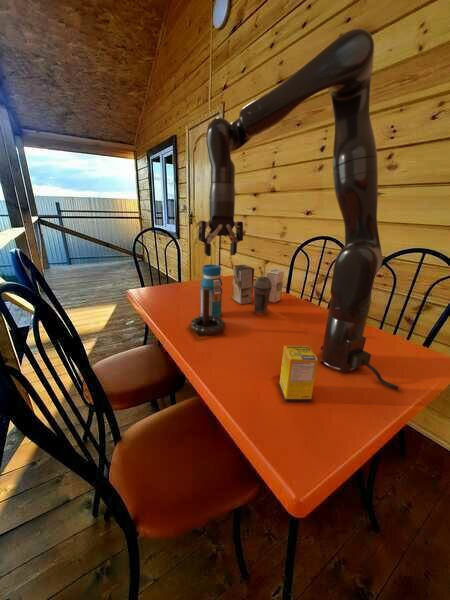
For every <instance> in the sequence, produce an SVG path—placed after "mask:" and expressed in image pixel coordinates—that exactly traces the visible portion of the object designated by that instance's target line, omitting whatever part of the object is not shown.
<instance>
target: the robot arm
mask: <svg viewBox="0 0 450 600" xmlns="http://www.w3.org/2000/svg"><path fill="white" fill-rule="evenodd" d="M374 56H375V41H374V38H373V36H372V34H371V33H370V31H368V30H367V29H364V28H354V29H350V30H348V31H346V32H345V33H342V34H341V35H340V36H338V37H337V38H336V39H335V40H333V41H332V42H331V43H330V44H328V45H327V46H326V47H325V48H324V49H323V50H321V51H320V52H318V54H317V55H315V56H314V57H313V58H311V59H310V60H309V61H308V62H307V63H305V64H304V65H303V66H301V68H299V69H298V70H297V71H296V72H294V73H293V74H292V75H290V76H289V77H288V78H286V79H285V80H284V81H283V82H281V83H280V84H278V85H277V86H276V87H274V88H272V89H271V90H270V91H268V92H266V93H265V94H263V95H262V96H260V97H257V99H255V100H253V101H251V102H250V103H248V104H246V105H245V106H244V107H242V108H241V109H240V111H239V115H238V118H237V119H235V120H234V121H233V122H229V121H228V120H227V119H225V118H224V117H214V118H213V119H212V120H211V121H210V123H209V124H208V126H207V129H206V134H205V135H206V137H205V138H206V139H205V140H206V149H207V154H208V155H207V156H208V159H209V165H210V185H209V196H208V200H209V211H208V213H209V214H208V215H209V220H208V221H206V220H199V221H198V236H197V237H198V238H197V239H198V241H199V242H201V243H203V244H204V254H205V255H206V257H211V256H212V244H211V243H212V241H213V240H214V239H215V238H216V236H217V237H221V236H224V237H227V238H228V239H229V240H230V246H229V247H230V253H229V254H230V255H231V256H235V255H236V254H237V252H238V243H239V242H243V241H244V222H243V221H241V220H237V221H235V210H236V209H235V208H236V207H235V206H236V189H235V187H236V185H235V184H236V165H235V163H234V162H233V160H232V157H231V154H232V153H233V152H236V151H238V150H240V149H241V148H242V147H243V146H245V145H246V144H247V143H249V142H250V141H251V140H252V139H253V138H254V137H256V136H258V135H261V134H262V133H264V132H266V131H267V130H271V129H272V128H274V127H275V126H277V125H279V123H281V122H282V121H284V120H285V119H286V118H288V116H289V115H291V113H292V112H293V111H294V110H296V109H297V108H298V107H299V106H300V105H301V104H302V103H304V102H305V101H306V100H308V99H310V98H311V97H313V96H315V95H316V94H318V93H320V92H323V91H325V90H328V92H329V96H330V102H331V107H332V112H333V120H334V121H333V122H334V137H333V147H332V178H333V189H334V195H335V198H336V202H337V205H338V208H339V212H340V214H341V217H342V221H343V224H344V247H343V248H342V249H341V250H340V251H339V252H338V253H337V255H336V257H335V261H334V265H333V270H332V277H331V282H330V283H331V284H330V296H331V298H330V303H329V307H328V308H329V309H328V313H327V314H328V315H327V320H326V324H325V331H324V336H323V341H322V345H321V347H320V350H321V352H320V358H321V363H322V364H323V365H324V366H325V367H327V368H329V369H331V370H333V371H336V372H339V373H342V374H347V373H350V372H353V371H356V370H359V369H360V368H361V367H364V366H365V367H367V368H368V369H369V370H370V371H372V372H373V373H374V375H375V376H376V378H377V380H378V381H379V382H380V383H381V384H382V385H384V386H385V387H388V388H390V389H393V390H396V391H398V390H399V388H400V387H399V386H398V385H396V384H392V383H389V382H387V381H386V380H385V379H383V378H382V376H381V373H379V371H378V370H377V369H376V368H375V367H374V366H372V364H370V361H371V357H372V354H371V353H369V352H367V351H366V350H365V346H366V342H367V337H366V336H364V333H365V329H366V326H367V325H366V324H367V321H368V317H369V312H370V310H371V309H370V308H371V304H372V291H373V287H374V282H375V278H376V275H377V273H378V271H379V270H380V269H381V267H382V265H383V259H384V258H383V257H384V256H383V251H382V245H381V240H380V233H379V227H378V200H379V165H378V150H377V143H376V139H375V133H374V129H373V126H372V122H371V115H370V103H371V102H370V99H371V83H372V74H373V67H374V66H373V65H374ZM208 227H209V231H208V233H207V234H206V232H207V231H206V230H207V229H208ZM234 228H235V232H234V230H233V229H234Z"/></svg>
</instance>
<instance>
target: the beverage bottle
mask: <svg viewBox="0 0 450 600" xmlns="http://www.w3.org/2000/svg"><path fill="white" fill-rule="evenodd" d="M221 270H222V268H221V266H220V265H218V264H204V265H203V266H202V276H203V277H202V278H201V280H200V289H199V293H200V313H199V314H200V316H203V288H209V316H215V317H218V318H219V317H221V315H222V299H223V288H222V286H223V281H222V280H221V278H220V276H221V273H222V271H221Z"/></svg>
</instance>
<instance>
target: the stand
mask: <svg viewBox="0 0 450 600" xmlns="http://www.w3.org/2000/svg"><path fill="white" fill-rule="evenodd" d="M198 325H199V326H202V327H214V326H217V324H215V323H209V288H203V323H200V324H198ZM188 327H190V324H188ZM193 333H194V334H195V335H196V336H197V337H198V338H201V337H206V336H207V335H205V334H199V333H196V332H194V331H193ZM221 333H224V330H223V331H221V332H220V333H219V334H221Z"/></svg>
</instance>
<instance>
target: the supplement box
mask: <svg viewBox="0 0 450 600" xmlns="http://www.w3.org/2000/svg"><path fill="white" fill-rule="evenodd" d="M318 361H319V359H318V357H317V355H316V354H315V353H314V351H313V350H312V349H311V347H310V346H309V345H283V351H282V359H281V366H280V375H279V385H278V387H279V388H280V391H281V394H282V396H283V399H284V402H312V397H313V391H314V386H315V379H316V373H317V367H318V363H319V362H318Z"/></svg>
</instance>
